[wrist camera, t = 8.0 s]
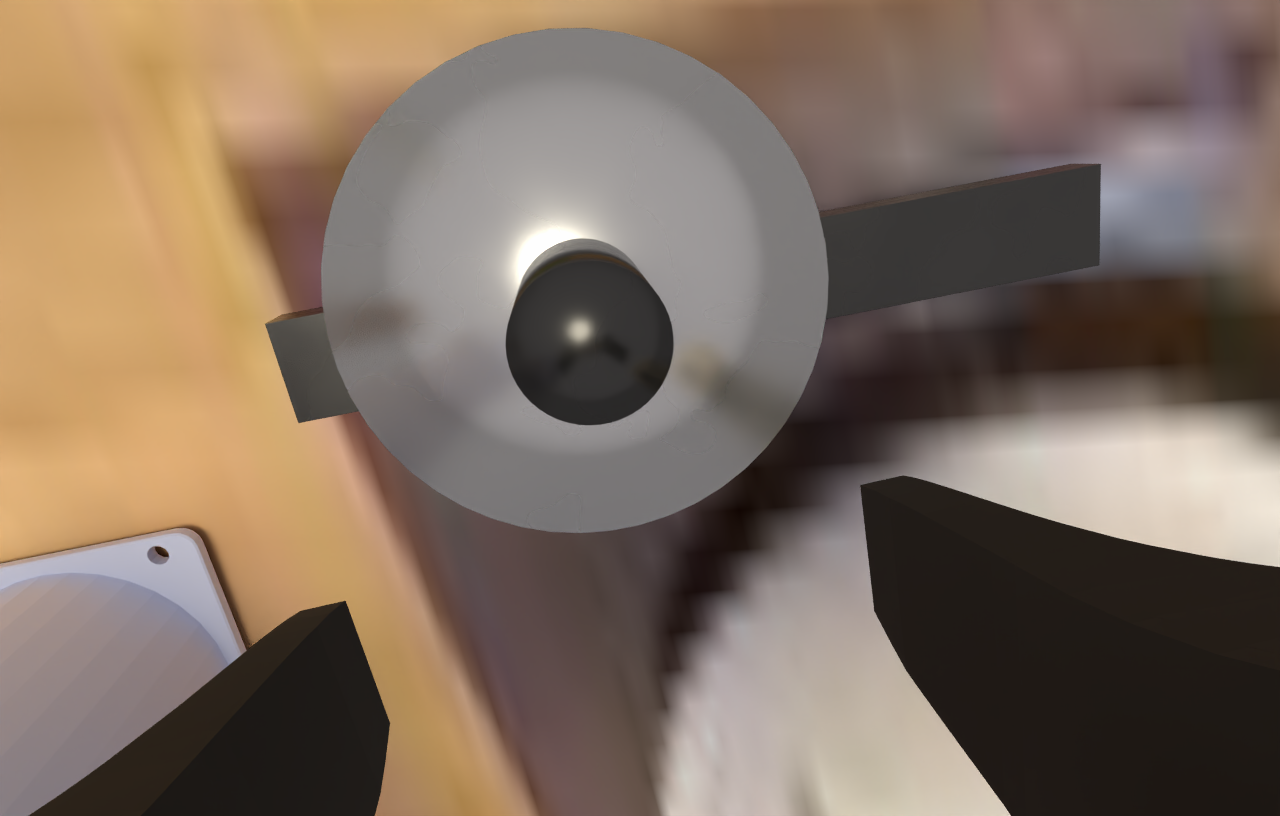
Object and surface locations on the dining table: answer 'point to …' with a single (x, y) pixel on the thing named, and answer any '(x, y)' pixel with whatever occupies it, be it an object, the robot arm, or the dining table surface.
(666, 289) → the lid
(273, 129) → the dining table surface
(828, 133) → the dining table surface
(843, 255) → the cooker base
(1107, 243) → the dining table surface
